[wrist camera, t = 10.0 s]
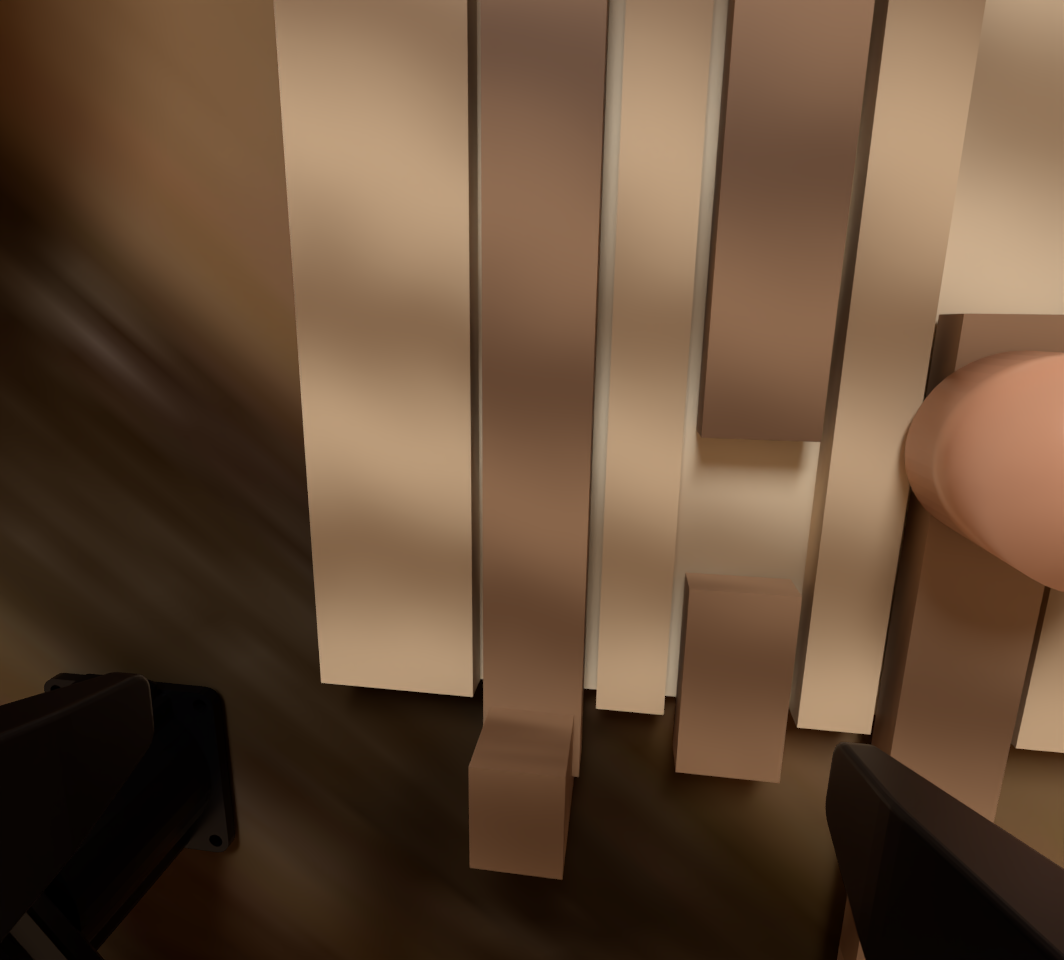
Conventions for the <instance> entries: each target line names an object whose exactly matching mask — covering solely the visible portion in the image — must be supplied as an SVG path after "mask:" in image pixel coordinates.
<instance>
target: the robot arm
mask: <svg viewBox="0 0 1064 960" xmlns="http://www.w3.org/2000/svg"><path fill="white" fill-rule="evenodd" d="M44 691H45V693H42V694H38V695H35V696H31V697H28V698H25V699H21V700H18V701H15V702H11V703H8V704H5V705H1V706H0V960H104V959H103V958H102V956H101V955H100V954H99V953H98V952H97V950H98V949H99V947H100V946H101V945H102V944H103V943H104V942H105V940H106V939H107V938H108V937H109V936H110V934H111V933H112V932H113V931H114V930H115V929H116V927H117V926H118V925H119V924H120V923H121V922H122V920H123V919H124V918H125V917H126V916H127V914H128V913H129V912H130V911H131V910H132V909H133V907H134V906H135V905H136V904H137V903H138V901H139V900H140V899H141V898H142V897H143V896H144V894H145V893H146V892H147V891H148V890H149V889H150V887H151V886H152V885H153V884H154V883H155V881H156V880H157V879H158V878H159V877H160V876H161V874H162V873H163V872H164V871H165V870H166V868H167V867H168V866H169V865H170V864H171V863H172V861H173V860H174V859H175V858H176V857H177V855H178V854H179V853H180V852H181V851H182V850H183V848H190V849H197V850H205V851H212V852H223V851H225V850H226V849H227V848H228V846H229V845H230V844H231V842H232V841H233V840H234V838H235V830H234V821H233V812H232V803H231V794H230V785H229V776H228V768H227V759H226V750H225V741H224V732H223V723H222V714H221V705H220V699H219V696H218V695H217V693H216V692H215V691H214V690H212V689H211V688H208V687H202V686H192V685H182V684H172V683H162V682H153V681H151V680H148V679H146V678H145V677H144V676H142V675H140V674H131V673H121V672H113V673H109V674H105V675H96V674H86V675H80V674H70V673H60V674H58V675H56V676H55V677H53V678H51V679H50V680H48V681H47V682H46V683H45V685H44ZM201 700H202V701H203V702H204V703H205V704H206V705H204V704H203V703H201ZM826 817H827V822H828V826H829V830H830V834H831V837H832V841H833V845H834V848H835V852H836V856H837V860H838V863H839V867H840V871H841V874H842V878H843V882H844V885H845V889H846V893H847V896H848V900H849V904H850V908H851V911H852V915H853V919H854V922H855V926H856V930H857V933H858V937H859V940H860V943H861V947H862V950H863V954H864V957H865V960H1064V869H1063V868H1062V867H1060V866H1059V865H1057V864H1055V863H1054V862H1052V861H1051V860H1049V859H1048V858H1046V857H1045V856H1043V855H1042V854H1040V853H1039V852H1037V851H1036V850H1034V849H1032V848H1031V847H1029V846H1028V845H1026V844H1025V843H1023V842H1022V841H1020V840H1019V839H1017V838H1016V837H1014V836H1012V835H1011V834H1009V833H1008V832H1006V831H1005V830H1003V829H1002V828H1000V827H999V826H997V825H996V824H994V823H993V822H991V821H989V820H988V819H986V818H985V817H983V816H982V815H980V814H979V813H977V812H976V811H974V810H973V809H971V808H970V807H968V806H966V805H965V804H963V803H962V802H960V801H959V800H957V799H956V798H954V797H953V796H951V795H950V794H948V793H947V792H945V791H943V790H942V789H940V788H939V787H937V786H936V785H934V784H933V783H931V782H930V781H928V780H927V779H925V778H924V777H922V776H920V775H919V774H917V773H916V772H914V771H913V770H911V769H910V768H908V767H907V766H905V765H904V764H902V763H901V762H899V761H897V760H896V759H894V758H893V757H891V756H890V755H888V754H887V753H885V752H884V751H882V750H881V749H879V748H878V747H876V746H873V745H870V744H860V743H849V742H840V743H839V744H838V745H836V747H835V749H834V752H833V757H832V763H831V770H830V776H829V783H828V789H827V796H826Z"/></svg>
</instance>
